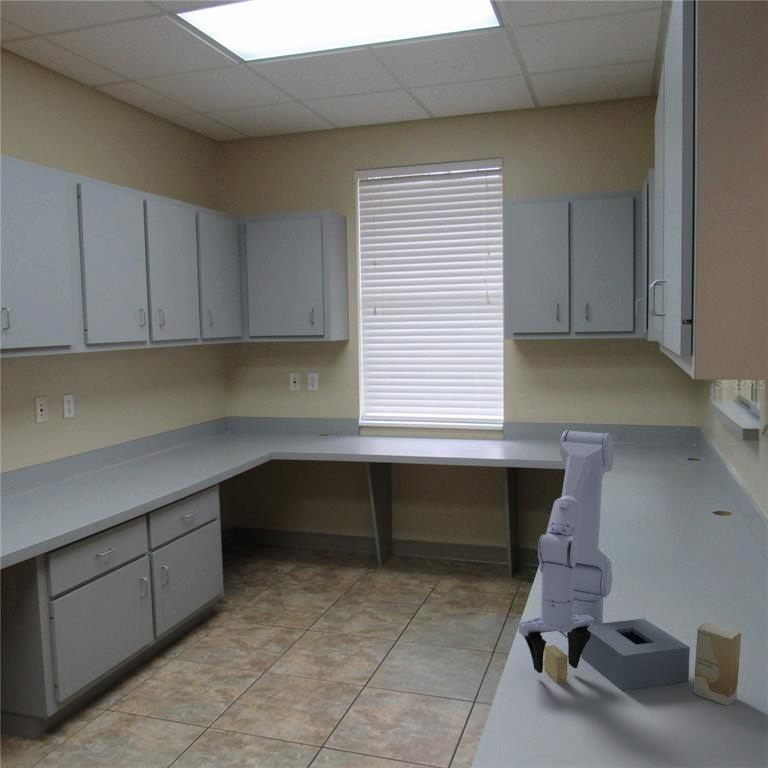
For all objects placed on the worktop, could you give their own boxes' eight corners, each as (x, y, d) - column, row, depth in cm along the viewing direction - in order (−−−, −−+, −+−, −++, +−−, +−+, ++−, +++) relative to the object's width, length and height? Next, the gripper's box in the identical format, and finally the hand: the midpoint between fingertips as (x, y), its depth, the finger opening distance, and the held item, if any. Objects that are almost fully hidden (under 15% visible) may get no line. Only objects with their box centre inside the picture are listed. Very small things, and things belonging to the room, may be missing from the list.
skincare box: (692, 694, 132) (695, 627, 131) (702, 685, 135) (704, 620, 134) (729, 707, 127) (732, 638, 126) (739, 698, 130) (742, 631, 129)
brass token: (544, 671, 140) (544, 646, 140) (553, 670, 141) (554, 645, 140) (557, 683, 135) (557, 657, 135) (566, 682, 136) (567, 656, 136)
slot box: (581, 657, 146) (582, 625, 146) (642, 649, 150) (643, 618, 149) (622, 690, 133) (623, 655, 132) (688, 681, 136) (689, 647, 136)
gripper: (531, 609, 131) (530, 682, 132) (603, 601, 135) (601, 673, 136) (514, 595, 138) (513, 665, 139) (583, 588, 142) (581, 656, 143)
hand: (555, 668), depth 138 cm, fingers open, 7 cm apart
